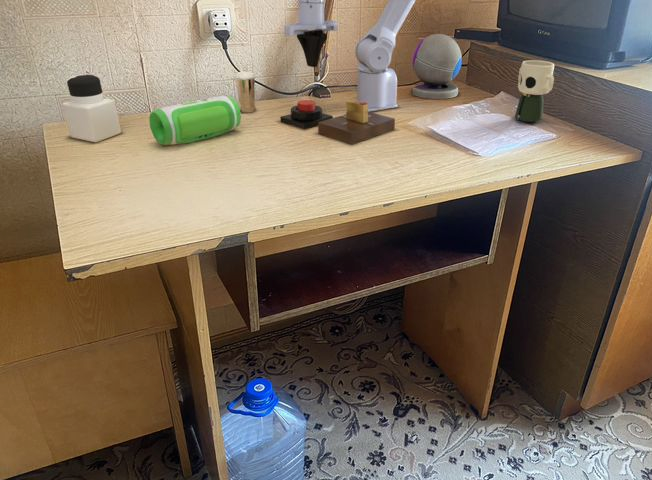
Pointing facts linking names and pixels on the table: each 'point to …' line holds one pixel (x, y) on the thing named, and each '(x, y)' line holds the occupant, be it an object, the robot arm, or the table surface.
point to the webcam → (437, 67)
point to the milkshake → (246, 90)
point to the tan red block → (357, 111)
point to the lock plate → (355, 128)
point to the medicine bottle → (90, 110)
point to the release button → (306, 105)
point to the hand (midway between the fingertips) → (312, 66)
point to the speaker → (194, 120)
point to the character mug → (533, 88)
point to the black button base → (305, 117)
